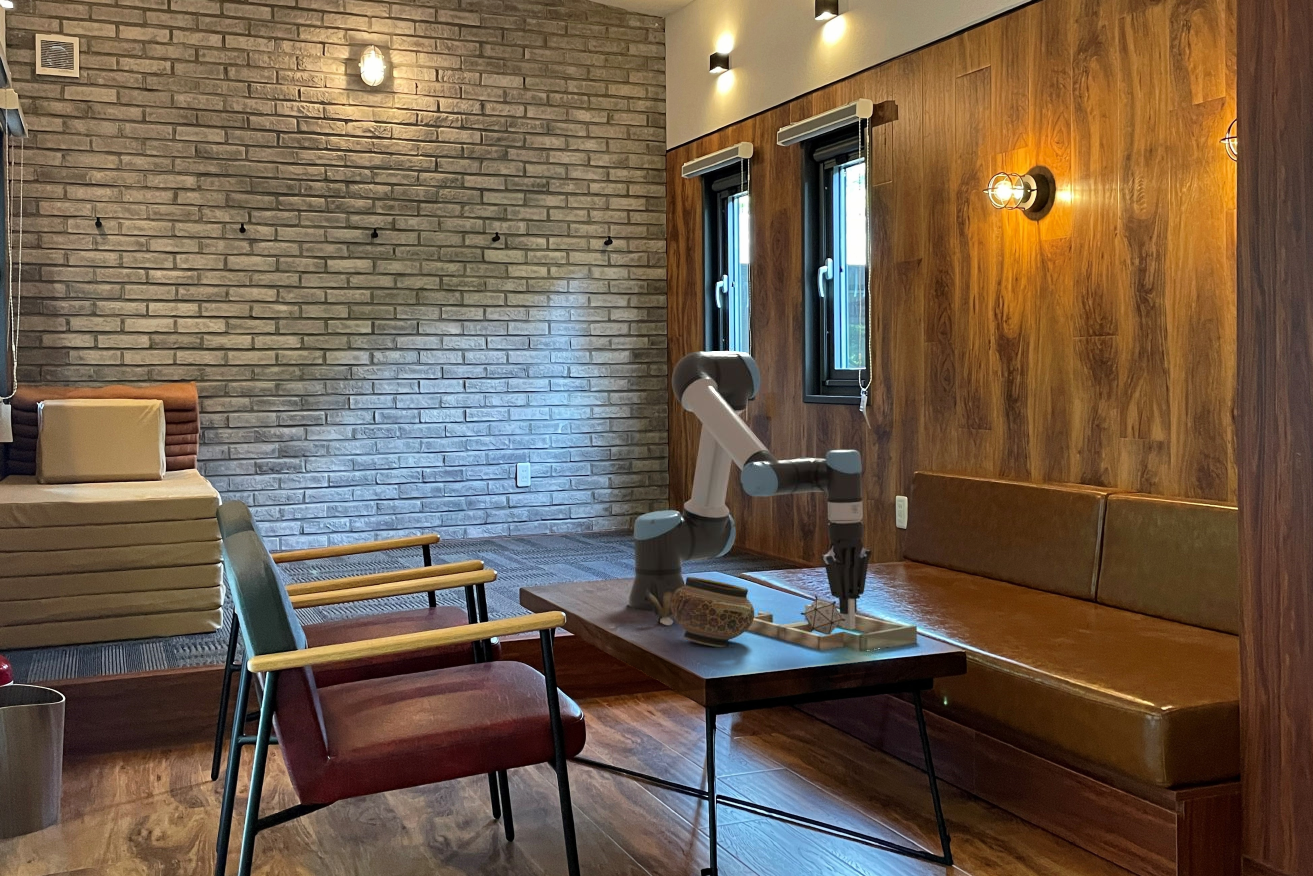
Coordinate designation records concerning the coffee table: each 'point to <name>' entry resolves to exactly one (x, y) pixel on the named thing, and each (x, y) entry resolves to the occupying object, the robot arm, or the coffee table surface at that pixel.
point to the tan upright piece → (666, 607)
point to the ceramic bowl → (711, 611)
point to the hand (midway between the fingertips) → (848, 628)
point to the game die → (822, 616)
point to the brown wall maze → (800, 632)
